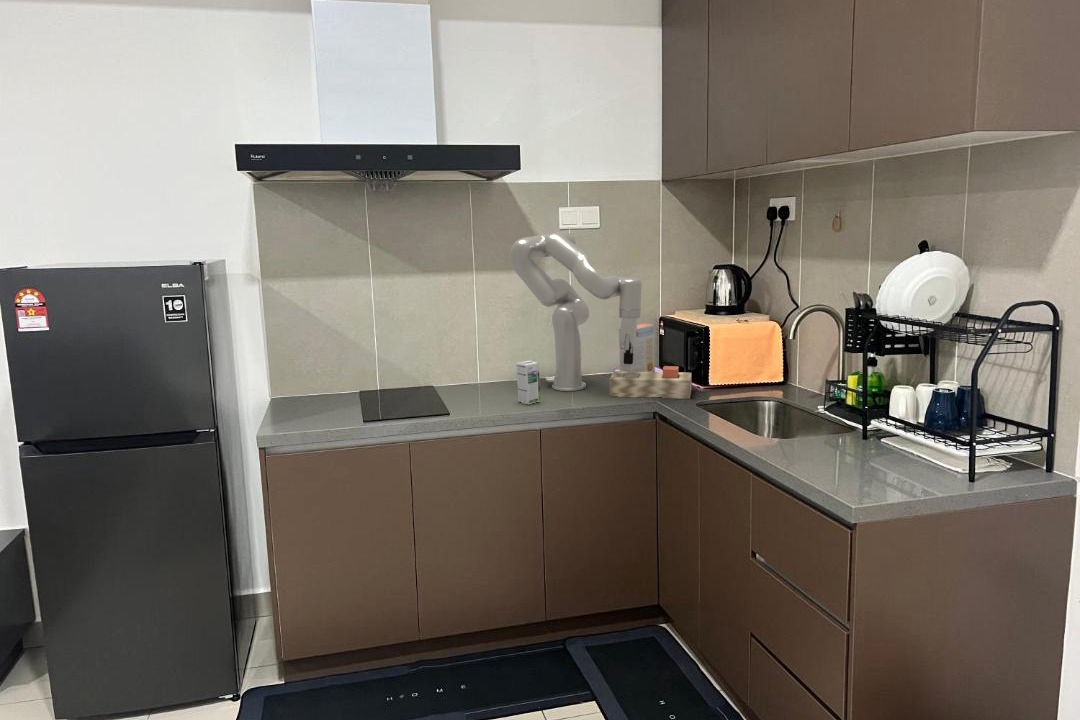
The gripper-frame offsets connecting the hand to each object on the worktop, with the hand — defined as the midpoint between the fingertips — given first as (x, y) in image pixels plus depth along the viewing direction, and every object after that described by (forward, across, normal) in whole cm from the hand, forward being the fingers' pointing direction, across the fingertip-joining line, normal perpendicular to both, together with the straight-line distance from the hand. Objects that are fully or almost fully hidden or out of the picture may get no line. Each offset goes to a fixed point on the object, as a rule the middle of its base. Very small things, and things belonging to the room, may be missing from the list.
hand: (628, 363), depth 282 cm
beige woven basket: (+10, 0, +8) cm, 13 cm away
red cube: (+5, 0, +15) cm, 16 cm away
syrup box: (+12, +16, -32) cm, 38 cm away
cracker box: (+11, -20, +2) cm, 23 cm away
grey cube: (+9, 0, +1) cm, 9 cm away
